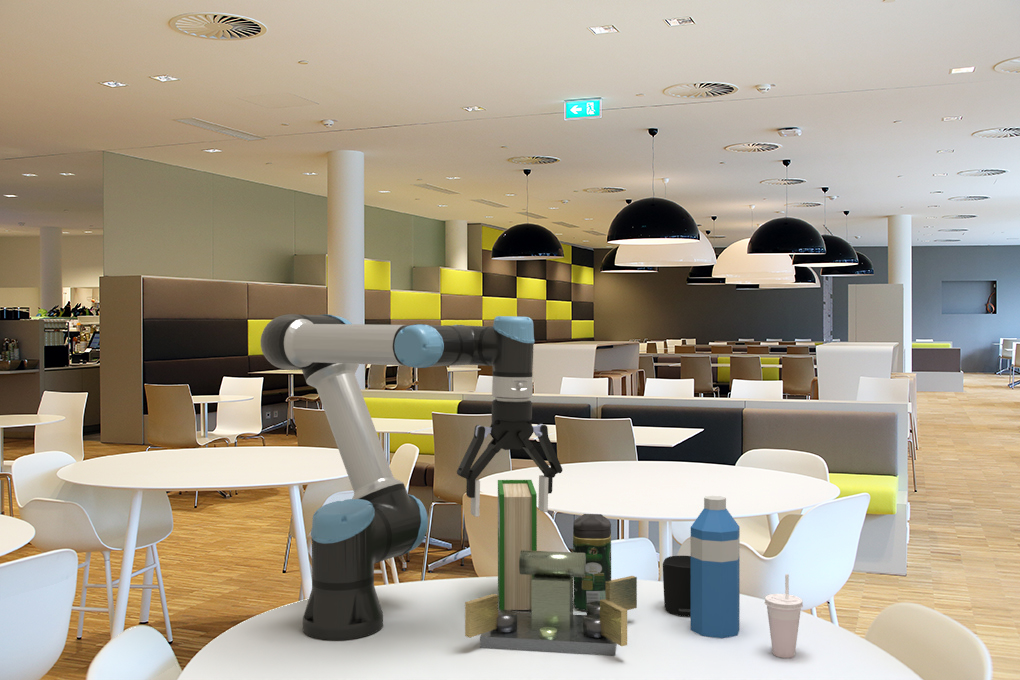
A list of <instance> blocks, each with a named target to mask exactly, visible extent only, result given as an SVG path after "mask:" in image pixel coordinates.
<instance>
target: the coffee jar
mask: <svg viewBox="0 0 1020 680" xmlns="http://www.w3.org/2000/svg"><path fill="white" fill-rule="evenodd" d="M572 527H573V529H572V530H573V531H572V532H573V533H572V552H577V553H585V554H586V573H585V577H573V606H574V608H576V609H577V610H581V611H586V604H587V603H589V602H593V601H600V600H603V599H606V581H610V580H612V523H611V521H610V519H608V518H607V517H606V516H604V515H603V514H600V513H583V514H582V515H581V516H578V517H576V518H575V520H574V521H573V526H572Z"/></svg>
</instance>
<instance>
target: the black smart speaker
mask: <svg viewBox="0 0 1020 680" xmlns="http://www.w3.org/2000/svg"><path fill="white" fill-rule="evenodd" d="M662 580H663V581H662V583H663V585H662V586H663V600H664V601H663V602H664V605H663V606H664V610H665V611H666V612H667V613H669V614H671V615H674V616H678V617H679V616H680V617H686V618H687V617H688V618H691V555H672V556H667V557H665V558H664V560H663V561H662Z"/></svg>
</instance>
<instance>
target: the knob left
mask: <svg viewBox="0 0 1020 680" xmlns="http://www.w3.org/2000/svg"><path fill="white" fill-rule="evenodd" d="M464 609H465V610H464V622H465V623H464V624H465V625H464V630H465V631H464V635H465V637H466V638H473V637H476V636H477V637H478V636H479V635H480V636H481V634H482V633H485V632H488V631H491V630H493V631H497V632H511V631H514V630H516V629H517V612H518V611H517V612H515V611H516V610H499V597H498V594H495V593H491V594H487V595H484V596H482V597H478V598H475V599H471V600H467V601H465V602H464Z"/></svg>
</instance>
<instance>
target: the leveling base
mask: <svg viewBox="0 0 1020 680" xmlns="http://www.w3.org/2000/svg"><path fill="white" fill-rule="evenodd" d="M519 572H520V574H521V575H534V576H533V578H532V610H531V611H517V610H514V611H515V612H517V629H516V630H514V631H511V632H497V631H493V630H491V631H488V632H485V633H482V634H480V636H479V648H482V649H497V650H516V651H531V652H532V651H533V652H545V653H546V652H550V653H564V654H565V653H566V654H581V655H582V654H583V655H599V656H601V655H602V656H616V653H617V645H618V644H616V643H615V642H613V641H611V640H610V639H608V638H606V637H590V636H587V635H585V634H583V617H584V616H586V614H574V579H573V577H585V573H586V554H585V553H577V552H573V551H571V552H570V551H549V550H537V551H527V550H521V552H520V557H519Z"/></svg>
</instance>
